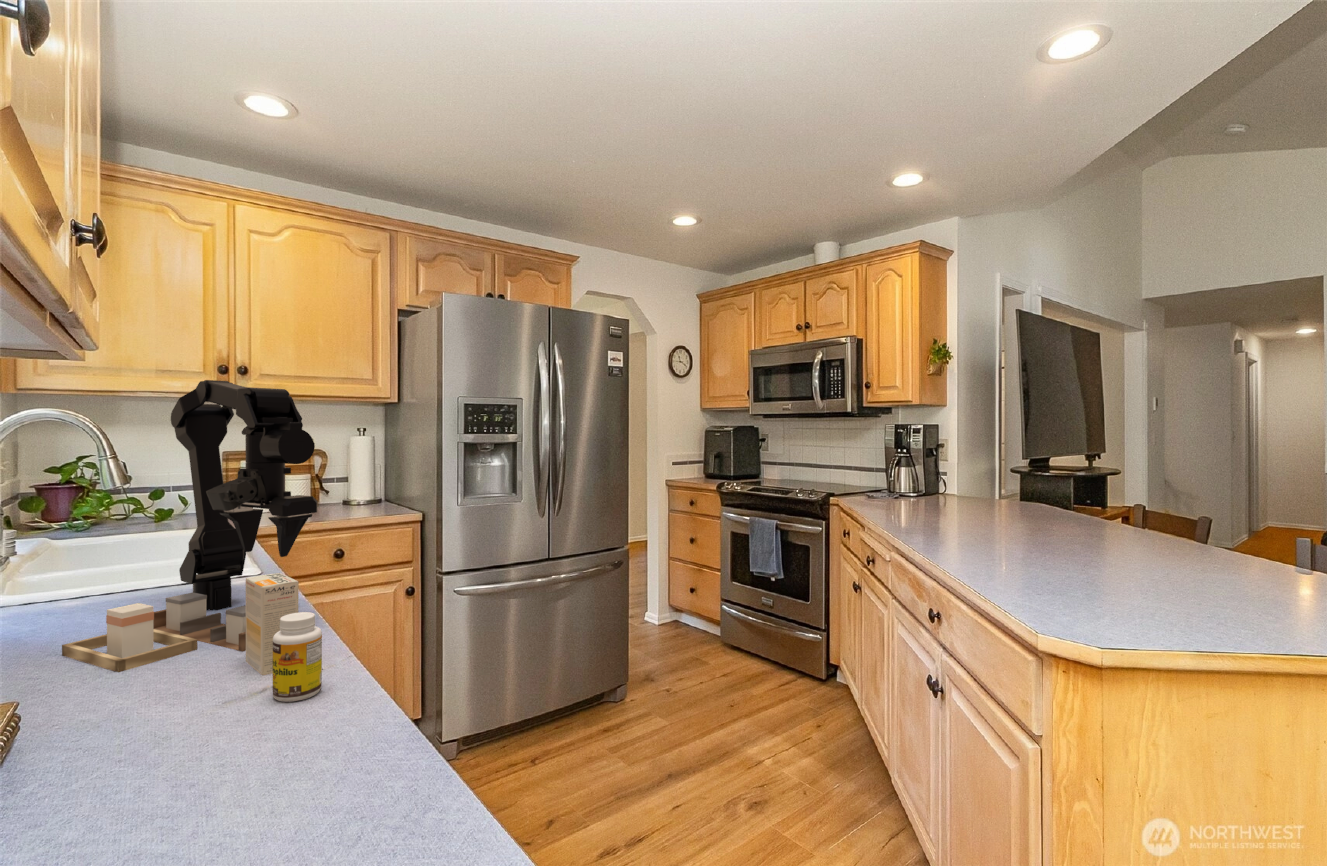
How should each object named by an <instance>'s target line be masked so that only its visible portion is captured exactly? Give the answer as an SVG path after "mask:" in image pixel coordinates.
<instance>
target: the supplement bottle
mask: <svg viewBox="0 0 1327 866" xmlns="http://www.w3.org/2000/svg"><path fill="white" fill-rule="evenodd" d="M322 657H323V632H322V629H321V628H320V627H319V626H317V625H316V615H315V613H313V612H311V611H310V612H309V611H308V612H307V611H301V612H299V611H298V613H292V614H288V615H285V616H283V617H281V618H280V631H279V632H277V633H276V634H275V635H274V637H273V673H272V689H271V690H272V697H273V698H274V699H275V700H276V701H277V702H278V701H279V702H283V703H284V702H285V703H289V702H290V703H291V702H293V703H294V702H297V701H298V702H299V701H304V700H306V699H309V698H312V697H314V696H316V695H317V694H318V693H319V692H320V691H321V689H322V684H323V683H322V682H323V680H322V678H323V677H322V675H323V673H322V672H323V671H322V670H323V669H322V668H323V665H322V664H323V661H322V660H323V659H322Z"/></svg>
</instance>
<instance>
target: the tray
mask: <svg viewBox="0 0 1327 866" xmlns="http://www.w3.org/2000/svg"><path fill="white" fill-rule="evenodd" d="M153 643H157V644H161V645H165V646H163V647H158V648H156V649H153V650H151V651H147V652H144V653H140V654H136V655H133V656H129V657H125V658H119V657H116V656H112V655H109V654H107V653H104V652H101V651H97V650H95V649H100V648H103V647H107V633H105V634H103V635H98V636H93V637H90V638H86V639H81V640H77V641H73V642H70V643H65V644H61V656H63V657H65V658H69V659H73V660H76V661H79V662H82V663H86V664H89V665H92V666H96V667H99V668H103V669H106V670H109V671H114V673H115V672H116V673H121V672H125V671H128V670H131V669H132V670H133V669H135V668H138V667H141V666H146V665H149V664H152V663H156V662H159V661H163V660H166V659H170V658H173V657H177V656H179V655H180V656H181V655H184V654H187V653H190V652H194V651H198V641H197V639H193V638H189V637H185V636H181V635H177V634H172V633H168V632H164V631H160V630H156V629H153Z"/></svg>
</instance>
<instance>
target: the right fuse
mask: <svg viewBox="0 0 1327 866" xmlns="http://www.w3.org/2000/svg"><path fill="white" fill-rule="evenodd" d="M225 617H226V618H225V624H226V642H228V643H233V644H237V645H239V634H240V633H243V632H246V604H244V605H241V606H237V607H233V608H232V607H231V608H227V609H225Z"/></svg>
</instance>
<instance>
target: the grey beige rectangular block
mask: <svg viewBox="0 0 1327 866" xmlns="http://www.w3.org/2000/svg"><path fill="white" fill-rule="evenodd" d="M206 599H207V595H203V594H198V593H193V591H192V592H189V593H184V594H183V593H182V594H179V595H174V596H169V597H165V609H166V628H168V629H173V630H177V631H180V622H183V621H187V620H191V619H195V618H199V617H203V616H207V610H206Z"/></svg>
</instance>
